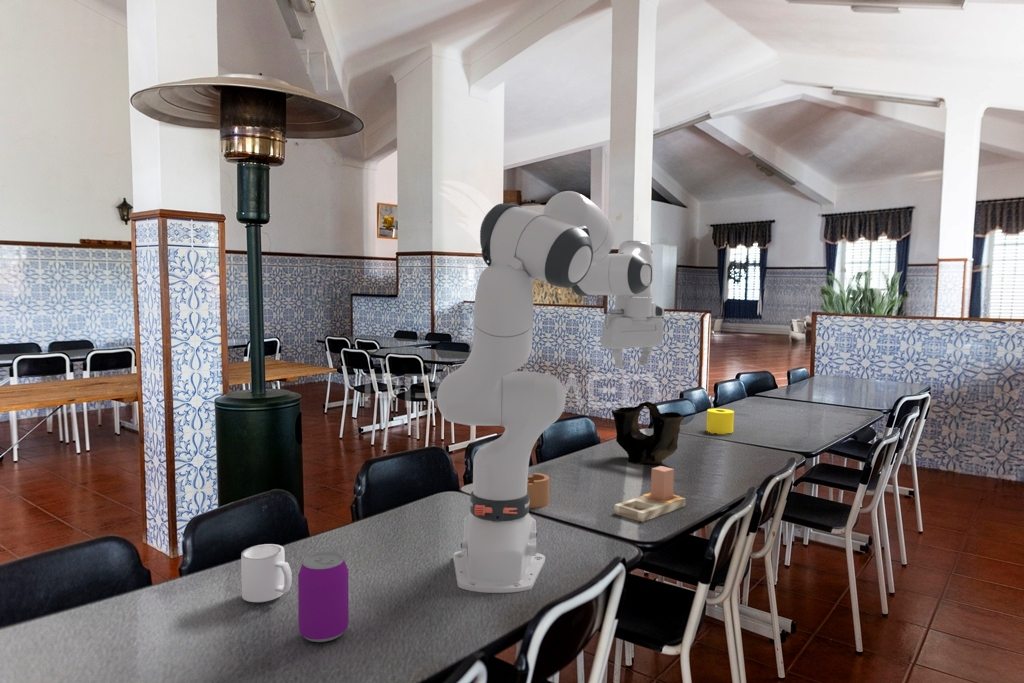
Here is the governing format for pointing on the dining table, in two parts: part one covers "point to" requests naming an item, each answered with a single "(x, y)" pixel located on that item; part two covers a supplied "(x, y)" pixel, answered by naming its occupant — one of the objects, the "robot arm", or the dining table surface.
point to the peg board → (647, 507)
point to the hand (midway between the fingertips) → (631, 366)
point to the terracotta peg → (662, 483)
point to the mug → (264, 573)
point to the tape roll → (720, 421)
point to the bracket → (538, 490)
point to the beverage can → (323, 596)
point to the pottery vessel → (643, 445)
